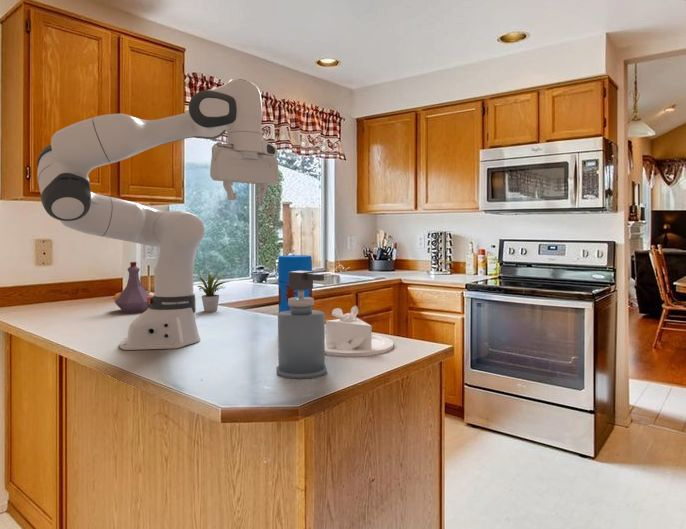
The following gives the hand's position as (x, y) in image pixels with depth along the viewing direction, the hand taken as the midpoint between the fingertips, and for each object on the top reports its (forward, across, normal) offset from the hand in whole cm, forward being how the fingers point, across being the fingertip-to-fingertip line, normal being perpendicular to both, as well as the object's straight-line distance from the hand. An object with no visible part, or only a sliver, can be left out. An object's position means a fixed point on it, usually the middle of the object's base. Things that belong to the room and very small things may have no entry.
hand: (246, 200), depth 131 cm
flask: (+41, +22, +94) cm, 105 cm away
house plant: (+41, +40, +68) cm, 89 cm away
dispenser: (+41, -1, -20) cm, 46 cm away
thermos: (+41, +30, +12) cm, 52 cm away
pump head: (+23, -1, -22) cm, 32 cm away
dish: (+42, +27, -13) cm, 51 cm away
